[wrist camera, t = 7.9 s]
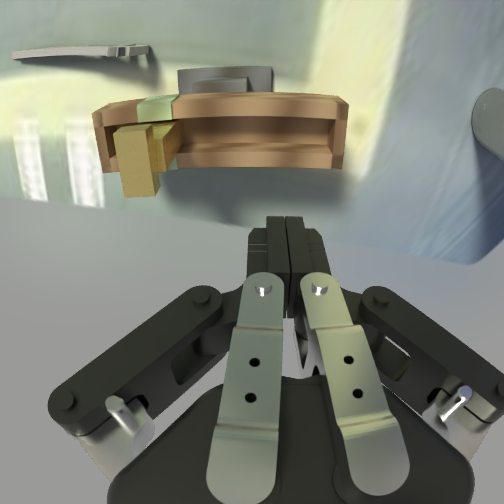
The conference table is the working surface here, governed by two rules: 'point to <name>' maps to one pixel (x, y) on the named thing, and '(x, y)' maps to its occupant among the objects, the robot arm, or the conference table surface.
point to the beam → (235, 122)
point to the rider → (147, 154)
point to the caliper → (85, 51)
